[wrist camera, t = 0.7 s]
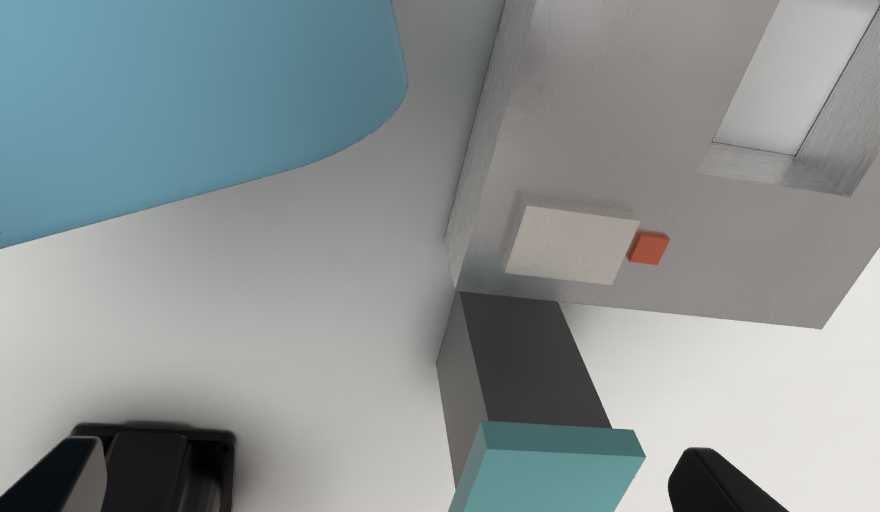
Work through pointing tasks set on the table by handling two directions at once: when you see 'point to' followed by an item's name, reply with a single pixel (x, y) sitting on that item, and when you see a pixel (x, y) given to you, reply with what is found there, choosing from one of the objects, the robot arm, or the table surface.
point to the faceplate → (660, 168)
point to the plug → (526, 413)
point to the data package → (178, 99)
